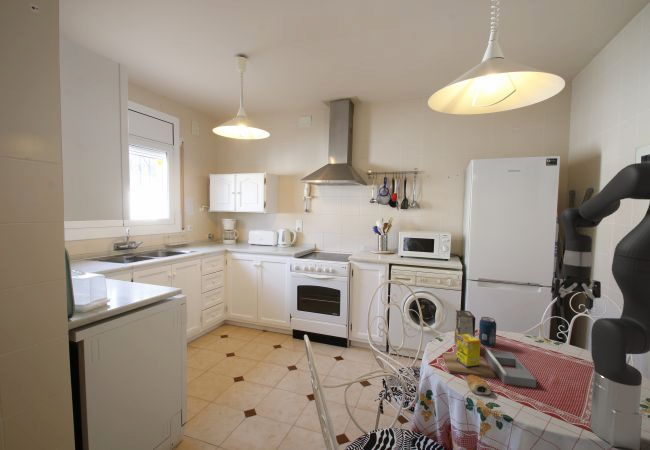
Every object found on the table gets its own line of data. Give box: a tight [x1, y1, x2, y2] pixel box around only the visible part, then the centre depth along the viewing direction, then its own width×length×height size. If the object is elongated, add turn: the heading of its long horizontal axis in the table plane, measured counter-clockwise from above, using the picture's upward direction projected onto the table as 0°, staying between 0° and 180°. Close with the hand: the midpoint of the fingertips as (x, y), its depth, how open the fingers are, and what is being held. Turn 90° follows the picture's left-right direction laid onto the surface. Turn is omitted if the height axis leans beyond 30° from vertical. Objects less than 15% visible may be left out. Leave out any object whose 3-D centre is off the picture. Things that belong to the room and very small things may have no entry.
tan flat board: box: [441, 352, 496, 379], centre depth 115 cm, size 14×16×1 cm
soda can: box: [478, 316, 497, 348], centre depth 135 cm, size 7×7×12 cm
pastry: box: [466, 375, 492, 396], centre depth 102 cm, size 9×7×4 cm
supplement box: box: [456, 334, 481, 368], centre depth 115 cm, size 6×6×11 cm
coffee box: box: [454, 309, 476, 348], centre depth 130 cm, size 9×6×16 cm
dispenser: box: [484, 346, 537, 389], centre depth 112 cm, size 20×10×4 cm, turn 169°
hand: (574, 307), depth 103 cm, fingers open, 8 cm apart
